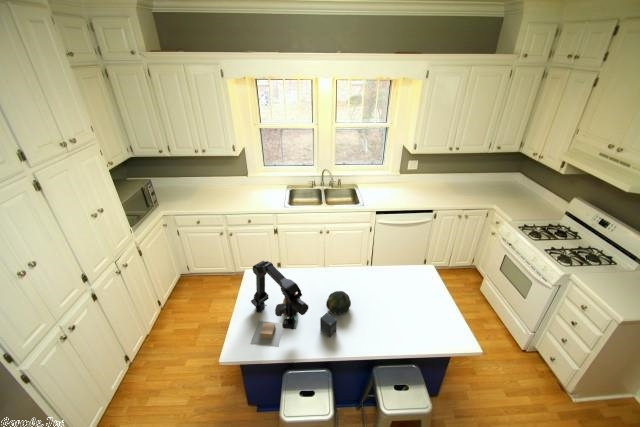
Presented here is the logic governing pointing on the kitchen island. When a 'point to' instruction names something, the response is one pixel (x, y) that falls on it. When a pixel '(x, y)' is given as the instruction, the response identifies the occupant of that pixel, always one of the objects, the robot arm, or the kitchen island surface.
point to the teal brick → (295, 319)
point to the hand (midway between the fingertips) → (292, 323)
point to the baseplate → (265, 341)
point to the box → (328, 325)
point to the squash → (338, 302)
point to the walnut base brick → (267, 331)
